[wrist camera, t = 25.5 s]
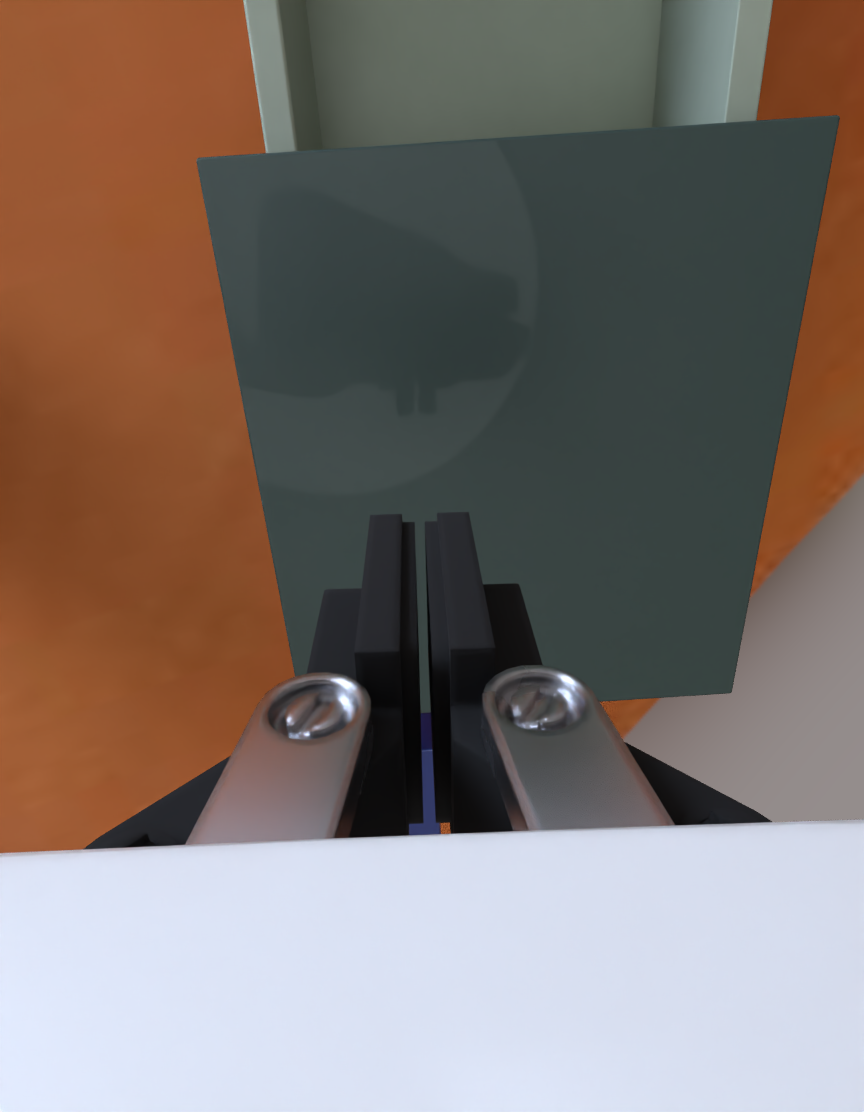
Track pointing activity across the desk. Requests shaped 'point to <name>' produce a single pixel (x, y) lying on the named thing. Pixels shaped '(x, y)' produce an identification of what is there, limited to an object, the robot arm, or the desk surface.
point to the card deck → (427, 783)
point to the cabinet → (530, 371)
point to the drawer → (499, 67)
